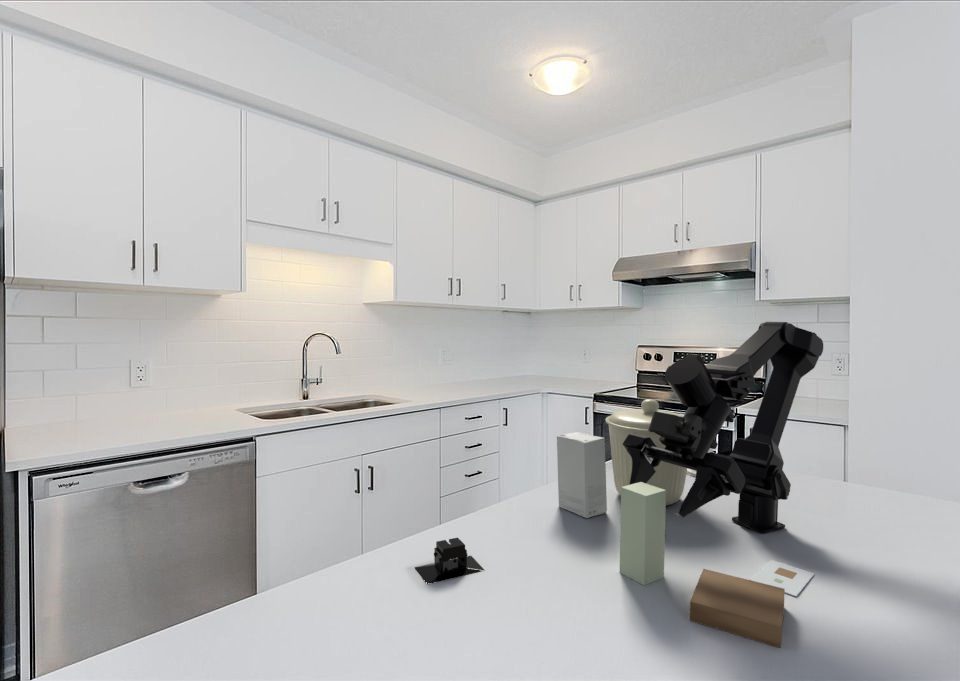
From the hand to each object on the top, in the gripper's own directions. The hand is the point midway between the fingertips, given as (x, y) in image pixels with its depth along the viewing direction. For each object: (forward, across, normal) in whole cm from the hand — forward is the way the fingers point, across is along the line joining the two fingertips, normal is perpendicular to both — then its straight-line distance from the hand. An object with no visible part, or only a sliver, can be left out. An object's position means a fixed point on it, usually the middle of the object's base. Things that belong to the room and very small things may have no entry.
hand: (654, 505), depth 78 cm
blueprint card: (-3, +12, +17) cm, 21 cm away
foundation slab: (+7, +14, +7) cm, 17 cm away
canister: (-11, -20, +25) cm, 34 cm away
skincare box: (+1, -24, +13) cm, 27 cm away
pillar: (+9, 0, +5) cm, 10 cm away
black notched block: (+26, -17, -10) cm, 33 cm away
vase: (-28, -24, +42) cm, 56 cm away
